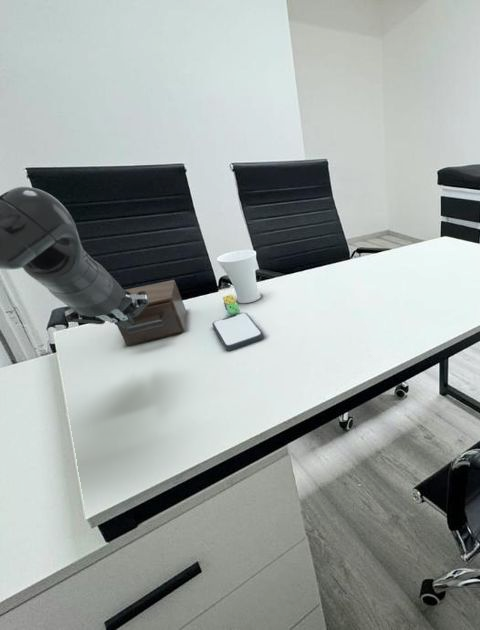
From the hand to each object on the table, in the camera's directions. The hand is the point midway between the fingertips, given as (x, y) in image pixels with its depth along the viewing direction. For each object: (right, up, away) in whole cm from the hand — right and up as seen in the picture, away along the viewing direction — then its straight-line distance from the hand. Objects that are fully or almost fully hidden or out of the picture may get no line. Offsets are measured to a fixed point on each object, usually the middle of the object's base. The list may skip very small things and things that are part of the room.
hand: (126, 322), depth 77 cm
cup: (+8, +6, +38) cm, 39 cm away
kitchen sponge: (+8, +1, +28) cm, 29 cm away
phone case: (+14, -3, +19) cm, 23 cm away
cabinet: (-10, -2, +25) cm, 27 cm away
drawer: (-9, -2, +21) cm, 23 cm away
